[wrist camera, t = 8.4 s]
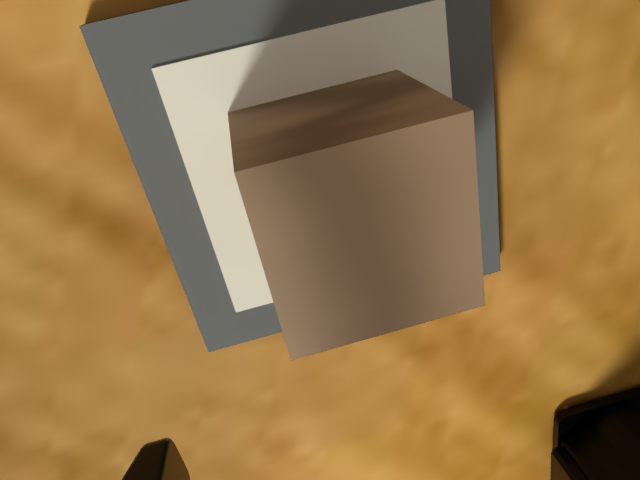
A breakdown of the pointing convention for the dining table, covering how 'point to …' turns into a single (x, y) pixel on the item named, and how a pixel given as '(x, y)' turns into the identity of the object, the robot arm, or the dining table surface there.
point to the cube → (361, 208)
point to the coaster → (261, 87)
